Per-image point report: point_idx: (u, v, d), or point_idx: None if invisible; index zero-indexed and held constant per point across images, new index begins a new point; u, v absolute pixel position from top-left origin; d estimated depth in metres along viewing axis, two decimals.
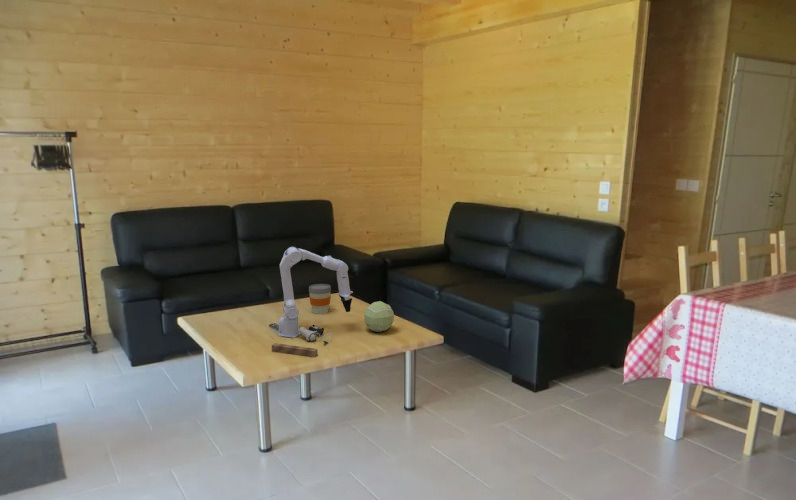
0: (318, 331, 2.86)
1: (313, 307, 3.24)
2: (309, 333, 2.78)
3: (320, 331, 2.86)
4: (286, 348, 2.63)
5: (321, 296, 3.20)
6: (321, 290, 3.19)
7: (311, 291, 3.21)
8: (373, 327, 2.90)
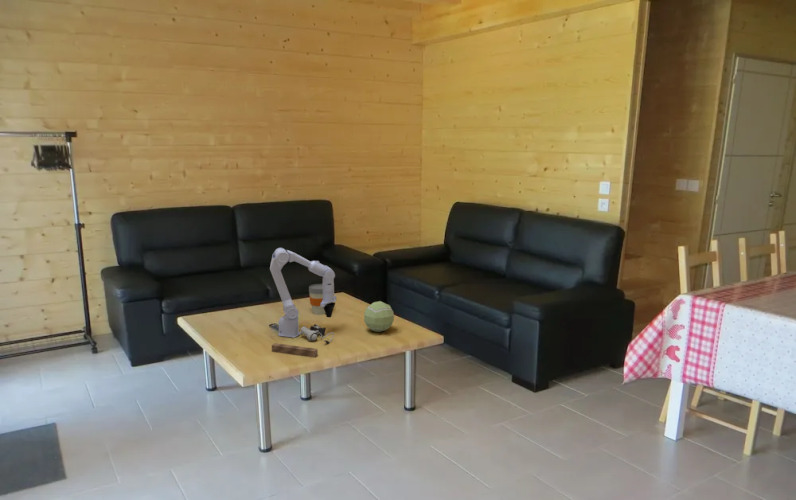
0: (320, 331, 2.87)
1: (313, 307, 3.24)
2: (311, 333, 2.79)
3: (322, 331, 2.86)
4: (286, 348, 2.63)
5: (321, 296, 3.20)
6: (321, 290, 3.19)
7: (311, 291, 3.21)
8: (373, 327, 2.90)
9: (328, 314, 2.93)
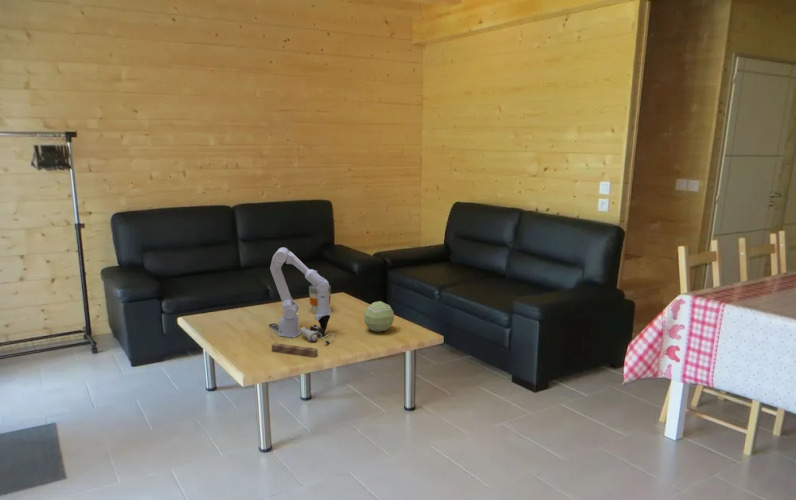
0: (319, 331, 2.86)
1: (313, 307, 3.24)
2: (311, 333, 2.78)
3: (321, 331, 2.85)
4: (286, 348, 2.63)
5: None
6: None
7: (311, 291, 3.21)
8: (373, 327, 2.90)
9: (323, 327, 2.89)
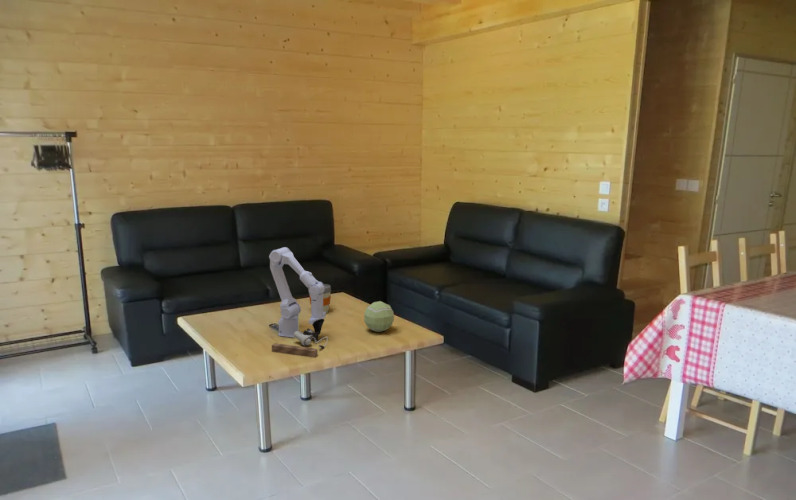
0: (313, 335, 2.80)
1: None
2: (304, 337, 2.72)
3: (315, 335, 2.79)
4: (286, 348, 2.63)
5: None
6: None
7: None
8: (373, 327, 2.90)
9: (317, 331, 2.82)
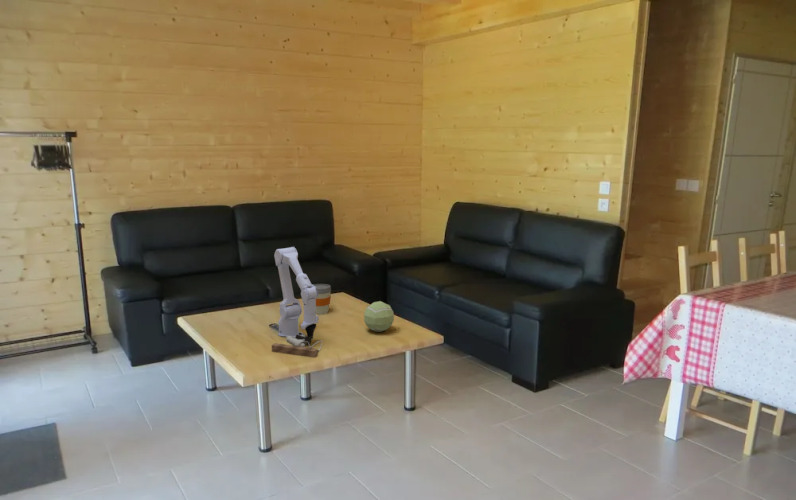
0: (306, 339, 2.74)
1: None
2: (298, 342, 2.66)
3: (308, 339, 2.74)
4: (286, 348, 2.63)
5: (321, 296, 3.20)
6: (321, 290, 3.19)
7: None
8: (373, 327, 2.90)
9: None
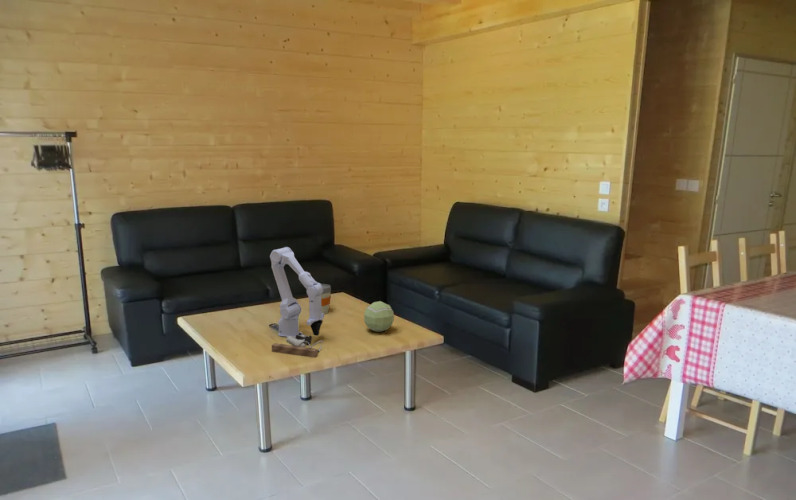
0: (306, 339, 2.74)
1: None
2: (299, 342, 2.66)
3: (308, 339, 2.74)
4: (286, 348, 2.63)
5: (321, 296, 3.20)
6: None
7: None
8: (373, 327, 2.90)
9: (315, 332, 2.81)
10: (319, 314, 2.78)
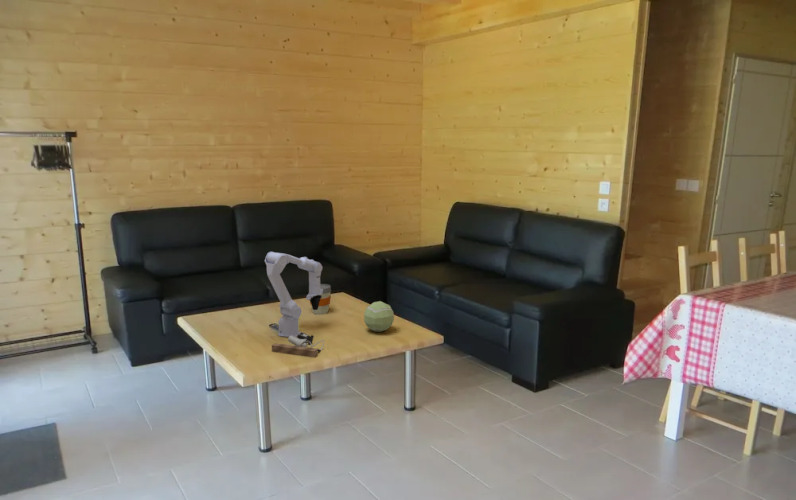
0: (308, 339, 2.75)
1: None
2: (300, 342, 2.67)
3: (310, 339, 2.75)
4: (286, 348, 2.63)
5: None
6: None
7: None
8: (373, 327, 2.90)
9: (314, 307, 2.99)
10: (318, 289, 2.96)
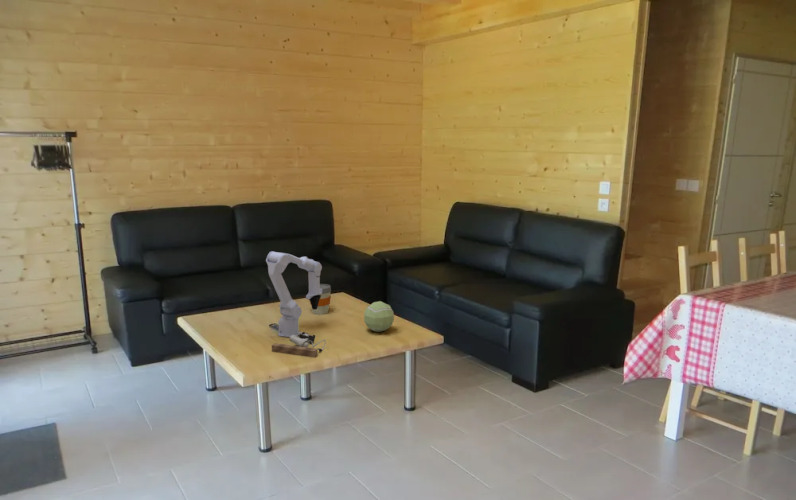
0: (309, 338, 2.76)
1: None
2: (302, 341, 2.67)
3: (312, 338, 2.75)
4: (286, 348, 2.63)
5: (321, 296, 3.20)
6: None
7: None
8: (373, 327, 2.90)
9: (314, 306, 3.00)
10: (318, 289, 2.97)
